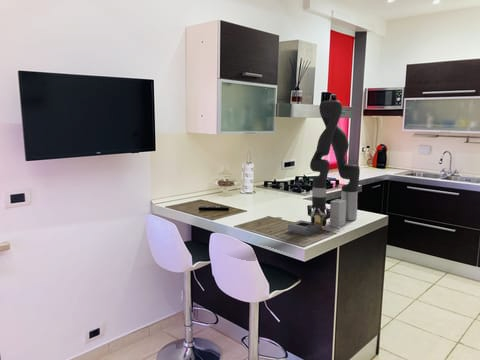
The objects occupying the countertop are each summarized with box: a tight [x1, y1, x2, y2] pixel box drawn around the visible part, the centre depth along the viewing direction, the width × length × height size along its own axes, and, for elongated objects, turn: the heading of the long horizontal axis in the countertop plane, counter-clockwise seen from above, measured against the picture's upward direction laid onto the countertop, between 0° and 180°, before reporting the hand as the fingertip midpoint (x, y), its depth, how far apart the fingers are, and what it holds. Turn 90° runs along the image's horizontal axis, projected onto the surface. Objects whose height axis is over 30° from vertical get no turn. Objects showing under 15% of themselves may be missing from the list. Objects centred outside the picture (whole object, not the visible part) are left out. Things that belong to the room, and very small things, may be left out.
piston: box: [314, 213, 324, 231], centre depth 212 cm, size 4×4×8 cm
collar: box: [287, 220, 320, 237], centre depth 208 cm, size 12×12×4 cm
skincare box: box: [329, 198, 347, 229], centre depth 217 cm, size 8×6×15 cm
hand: (318, 224), depth 213 cm, fingers open, 6 cm apart
